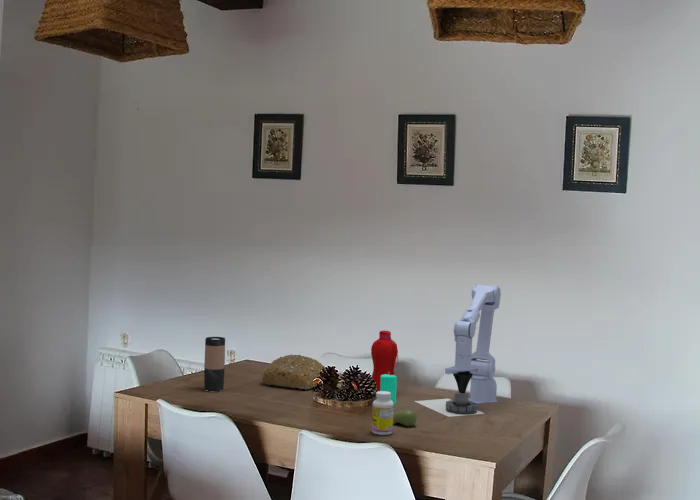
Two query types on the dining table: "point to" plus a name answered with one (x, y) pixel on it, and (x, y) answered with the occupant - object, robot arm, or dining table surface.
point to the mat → (441, 406)
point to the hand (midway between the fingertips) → (461, 392)
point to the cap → (461, 399)
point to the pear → (405, 417)
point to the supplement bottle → (382, 414)
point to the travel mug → (214, 363)
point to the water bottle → (383, 356)
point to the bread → (292, 372)
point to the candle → (389, 385)
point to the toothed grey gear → (461, 408)
